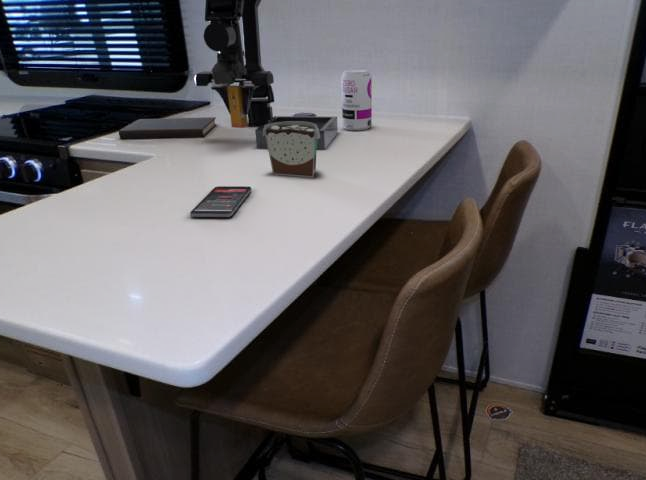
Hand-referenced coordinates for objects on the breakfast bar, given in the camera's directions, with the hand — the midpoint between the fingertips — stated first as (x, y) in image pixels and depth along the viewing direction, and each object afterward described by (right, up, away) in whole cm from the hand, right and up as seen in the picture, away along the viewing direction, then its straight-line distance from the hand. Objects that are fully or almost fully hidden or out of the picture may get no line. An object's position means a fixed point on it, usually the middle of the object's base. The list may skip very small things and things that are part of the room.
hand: (238, 114), depth 134 cm
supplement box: (0, -3, +2) cm, 3 cm away
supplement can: (+31, +1, +15) cm, 34 cm away
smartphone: (+6, -30, -39) cm, 49 cm away
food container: (+18, -20, -22) cm, 35 cm away
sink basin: (+15, -6, +3) cm, 17 cm away
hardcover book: (-23, 0, +16) cm, 28 cm away
